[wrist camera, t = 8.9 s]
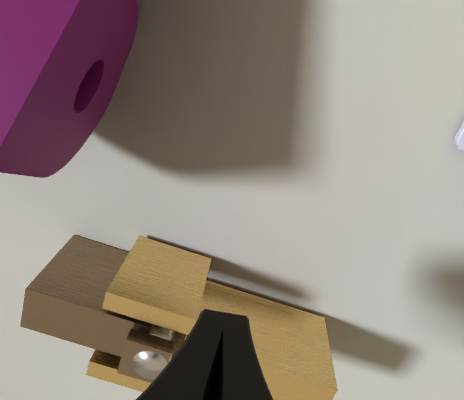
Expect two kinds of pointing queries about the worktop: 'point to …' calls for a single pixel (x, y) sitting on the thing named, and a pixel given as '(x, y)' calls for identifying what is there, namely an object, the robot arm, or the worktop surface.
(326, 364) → the loose leaf
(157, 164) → the worktop surface
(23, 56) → the mounting bracket
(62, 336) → the fixed leaf
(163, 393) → the robot arm
